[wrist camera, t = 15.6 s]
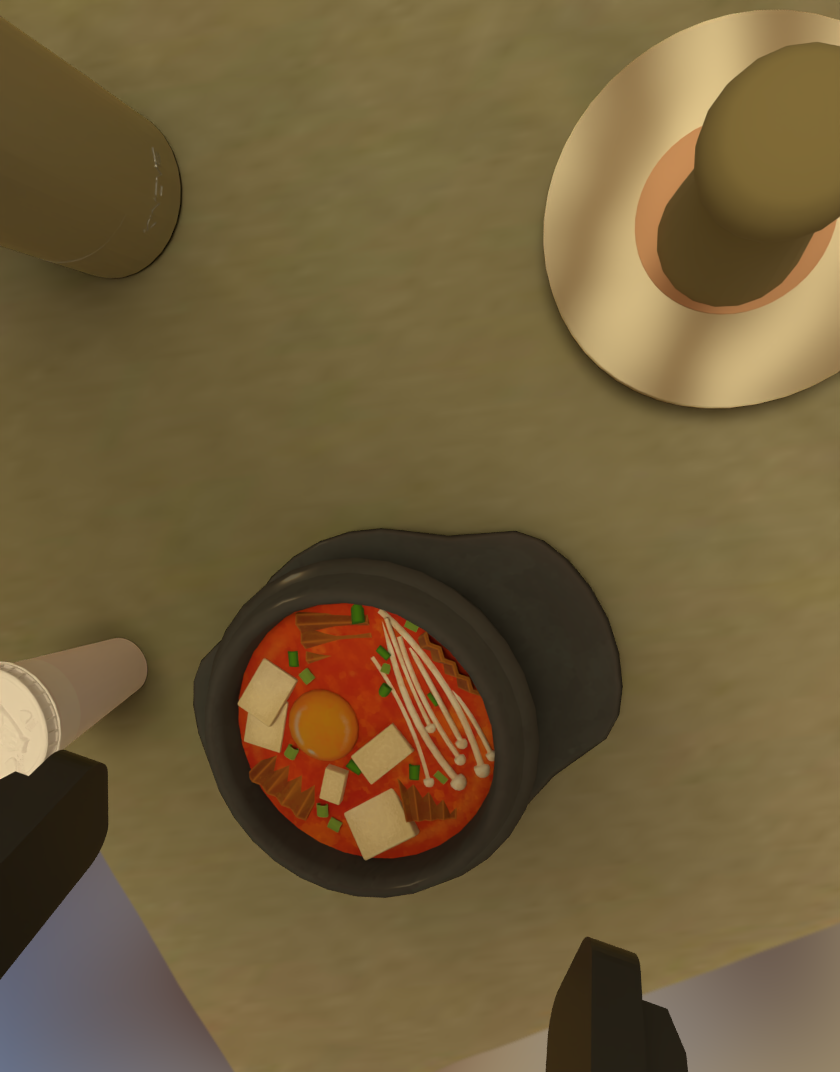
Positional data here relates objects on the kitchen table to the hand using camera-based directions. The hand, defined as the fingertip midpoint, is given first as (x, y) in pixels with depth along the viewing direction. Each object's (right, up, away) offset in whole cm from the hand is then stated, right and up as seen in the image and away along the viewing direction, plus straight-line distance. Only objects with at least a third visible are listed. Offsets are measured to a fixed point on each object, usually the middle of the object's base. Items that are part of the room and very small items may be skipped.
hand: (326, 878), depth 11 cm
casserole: (0, -3, +29) cm, 29 cm away
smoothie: (-18, -3, +33) cm, 38 cm away
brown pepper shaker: (+15, +18, +19) cm, 30 cm away
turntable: (+16, +19, +21) cm, 32 cm away
